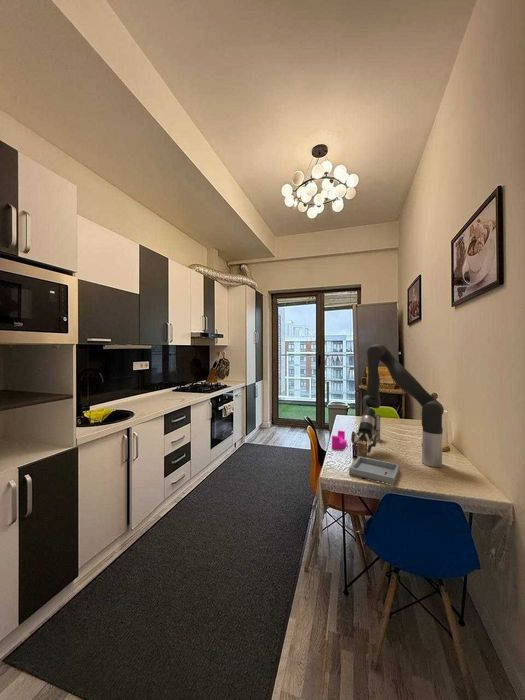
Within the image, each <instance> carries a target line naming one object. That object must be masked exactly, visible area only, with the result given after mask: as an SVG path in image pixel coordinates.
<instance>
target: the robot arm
mask: <svg viewBox="0 0 525 700" xmlns="http://www.w3.org/2000/svg"><path fill="white" fill-rule="evenodd" d="M366 357H367V359H366V361H367V382H366V392H367V393H369V394H370V395H367V394H366V395H364V396H363V397H362V415H361V417H360V418H361V419H360V421H359V426H358V430H357V432H355V431H351V438H350V440H351V443H352V445H353V446H352V448H353V451H357V447H356V445H357V442H358V441H365V442H367V454H370V453H371V451H372V448H375V447H377V442H378V441H377V439H378V438H377V435H375V436H374V435H372V432H373V427H374V419H375V415H376V410H375V409H379V408H380V407H381V402H382V401H381V398H380V384H381V380H380V379H381V378H380V372H379V364H380V362H381V363H382V364H383V365H384V366H385V367H386V369H387V371H388V372H389V375H390V377H391V378H392V380H393V382H394V383H395V384H396V385H397V386H398V387H399V388H400V389H401V390H402V391H404V393H406V394H408V395H409V396H410V397H412V398H413V399H414V400H416V401H417V403H418V404H419V405H420V406H421V407H422V408H421V426H422V429H421V430H422V432H421V433H422V436H421V437H422V438H421V439H422V441H421V447H422V448H421V463H422V464H423V463H424V465H425V466H429V467H432V468H442V467H443V432H444V431H443V430H444V429H443V414H444V411H445V410H444V406H443V405H442V403H441V402H439V400H437V399H436V398H435V397H433V396H432V395H431V394H430V393H429V392H428V391H426V389H425V388H424V387H423V386H422V385H421V383H420V382H419V381H418V380H417V379H416V378H415V377H414V376H413V374H411V373H410V372H409V371H408V369H406V368H405V366H403V365H402V364H401V363H400V362H399V360H397V359H396V358H395V356H393V354H392V353H391V351H390V350H389V349H388V347H386V346H385V345H384V344H382V343H376V344H372V345H370V346H369V347H368V348H367V351H366ZM372 395H373V396H372ZM356 436H357V437H356ZM371 438H373V440H372V442H371V440H370V439H371Z"/></svg>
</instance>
